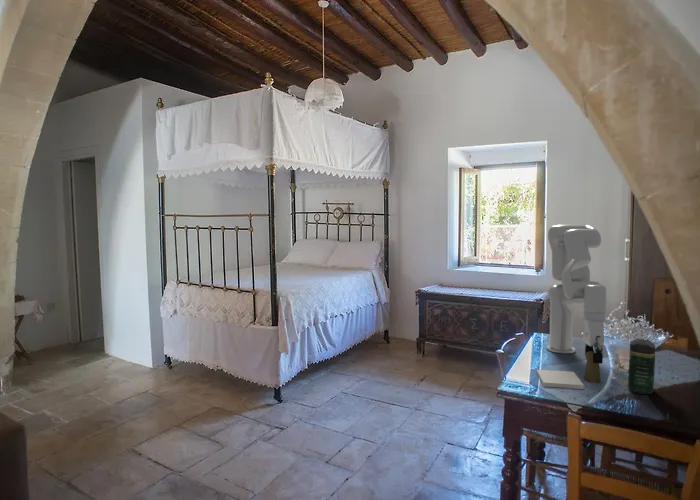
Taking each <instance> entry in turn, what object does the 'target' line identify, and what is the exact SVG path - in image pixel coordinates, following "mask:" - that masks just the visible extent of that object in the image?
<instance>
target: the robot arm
mask: <svg viewBox="0 0 700 500" xmlns="http://www.w3.org/2000/svg"><path fill="white" fill-rule="evenodd" d="M547 237H548V238H547V239H548V243H549V246H550V250H551V261H552V262H551V265H552V266H551V273H552V278H553V280H554V281H556V282H561V284H560V283H559V284H558V283H557V284H553V285H552V286H550V287H549V289H548V298H549V304H550V305H549V306H550V309H549V310H550V316H549V317H550V318H549V319H550V320H549V321H550V322H549V343H548V344H547V345H546V346H545V348H546V350H548V352H552V353H556V354H557V353H558V354H564V355H565V354H574V353H575V352H576V348H575V347H574V346H572V345H573V318H574V317H573V316H574V315H573V312H572V311H571V309H570V308H569V306H570V305H573V306H575V305H578V306H580V305H583V320H584V322H583V331H582V332H583V334H582V341H583V342H584V345H585V346H584V349H585V351H584V355H586V353H587V352H589V351H594V352H593V363H599V365H601V364H604V363H603V360H604V359H603V358H604V357H603V356H604V355H603V354H604V351H603V350H604V345H605V331H604V330H605V327H604V322H606V321H607V320H606V319H607V318H606V315H607V310H606V309H607V286H605V285H604V284H601V283H600V282H598V281H593V280H592V281H591V271H590V267H589V264H590V263H591V261H592V257H591V253H590V250H589V249H596V248H599V247H600V246H601V243H602V237H601V234H600V231H598V229H596V227H593V226H591V225H589V224H555V225H552V226H551V227H550V228H548V233H547Z"/></svg>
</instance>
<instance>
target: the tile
mask: <svg viewBox="0 0 700 500" xmlns="http://www.w3.org/2000/svg"><path fill="white" fill-rule="evenodd" d="M536 375H537V377H538V379H539V381H540V383H541V384H542V386H543V387H550V388H564V389H579V390H584V389H585V386H584V383H583V382H582V381H581V379H580V378H579V377H578V376H577V374H576V373H575V372H574V371H566V370H565V371H563V370H548V369H545V370H544V369H536Z"/></svg>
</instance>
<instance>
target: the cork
mask: <svg viewBox="0 0 700 500" xmlns="http://www.w3.org/2000/svg"><path fill="white" fill-rule="evenodd" d="M593 352H594V351H589V352H587V353H586V355H585V354H584V355H585V359H586V362H585V368H584V375H583V379H584V380H585V381H587V382H591V383H600V382H602V377H601V369H600V368H601V367H600V364H599V363H593Z"/></svg>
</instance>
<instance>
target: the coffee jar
mask: <svg viewBox="0 0 700 500" xmlns="http://www.w3.org/2000/svg"><path fill="white" fill-rule="evenodd" d="M628 360H629V362H628V376H627V377H628V378H627V382H628V383H627V388H628V390H629V391H632V392H634V393H636V394H641V395H651V394H652V393H653V392H654V385H655V384H654V383H655V370H656V369H655V367H656V345H655V343H653V342H652V341H650V340H649V339H642V338H636V339H633V340H631V341H630V343H629V359H628Z"/></svg>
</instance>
